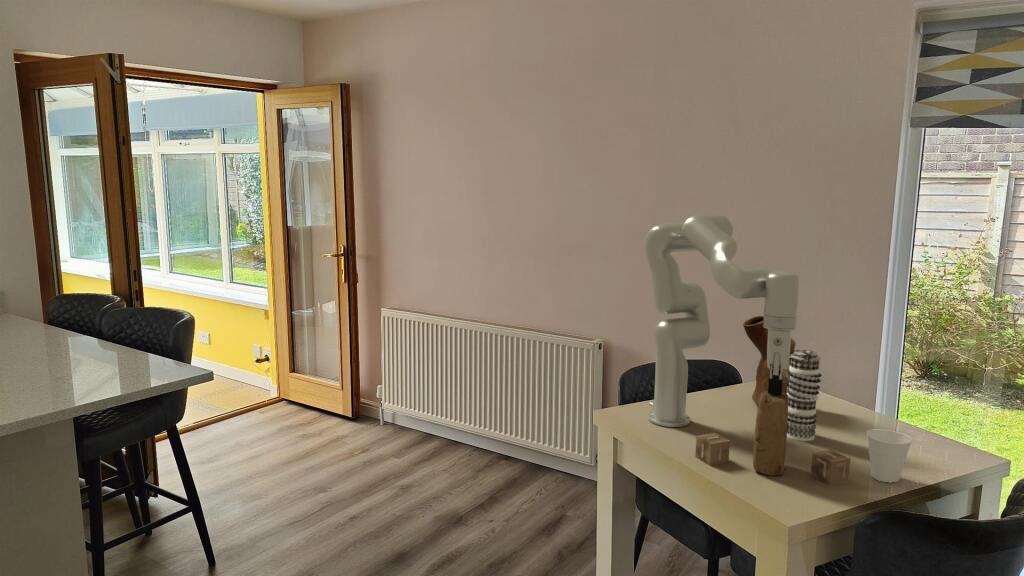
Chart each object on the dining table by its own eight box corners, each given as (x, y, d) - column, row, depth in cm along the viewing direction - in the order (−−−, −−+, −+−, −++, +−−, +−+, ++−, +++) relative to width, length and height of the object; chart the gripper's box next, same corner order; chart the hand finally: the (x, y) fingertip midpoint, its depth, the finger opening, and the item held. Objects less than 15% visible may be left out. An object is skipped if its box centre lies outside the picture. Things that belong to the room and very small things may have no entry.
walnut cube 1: (694, 457, 183) (695, 435, 182) (713, 454, 185) (714, 432, 184) (709, 466, 177) (710, 443, 176) (728, 462, 179) (730, 440, 178)
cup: (888, 490, 164) (893, 446, 162) (853, 473, 173) (857, 432, 171) (917, 483, 168) (921, 440, 166) (881, 467, 177) (885, 426, 175)
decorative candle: (800, 443, 193) (807, 357, 189) (775, 432, 201) (781, 349, 197) (823, 438, 197) (830, 353, 193) (797, 428, 205) (804, 346, 201)
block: (782, 479, 169) (788, 401, 166) (750, 473, 173) (755, 397, 169) (786, 463, 179) (792, 389, 176) (756, 458, 182) (761, 385, 179)
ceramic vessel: (814, 415, 216) (822, 322, 211) (744, 414, 216) (751, 321, 212) (795, 399, 231) (802, 312, 227) (730, 398, 232) (735, 311, 227)
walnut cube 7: (810, 475, 172) (812, 452, 171) (828, 472, 174) (830, 449, 173) (830, 486, 166) (832, 461, 165) (848, 482, 169) (851, 458, 168)
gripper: (795, 329, 161) (790, 404, 164) (796, 318, 175) (791, 387, 178) (762, 326, 164) (757, 400, 167) (764, 315, 178) (760, 384, 181)
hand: (774, 393), depth 172 cm, fingers closed
